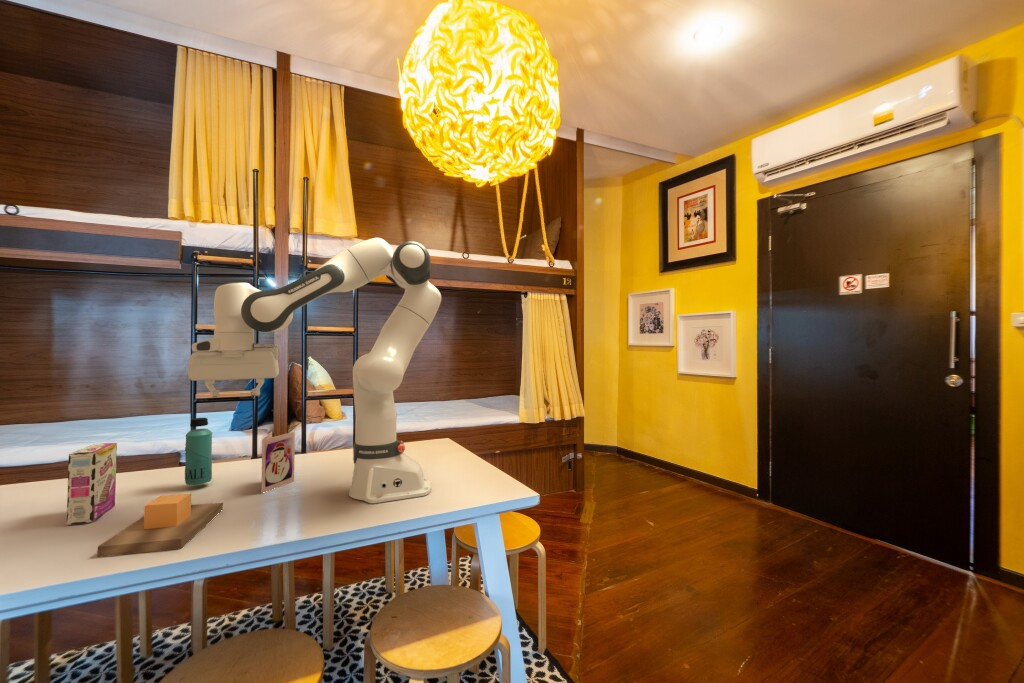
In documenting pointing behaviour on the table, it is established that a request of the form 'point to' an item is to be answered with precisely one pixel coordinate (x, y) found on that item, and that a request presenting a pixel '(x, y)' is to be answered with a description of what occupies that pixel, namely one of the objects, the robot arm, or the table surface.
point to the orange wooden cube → (167, 511)
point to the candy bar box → (91, 483)
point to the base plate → (159, 533)
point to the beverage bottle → (198, 454)
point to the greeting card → (277, 460)
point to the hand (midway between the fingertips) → (235, 396)
